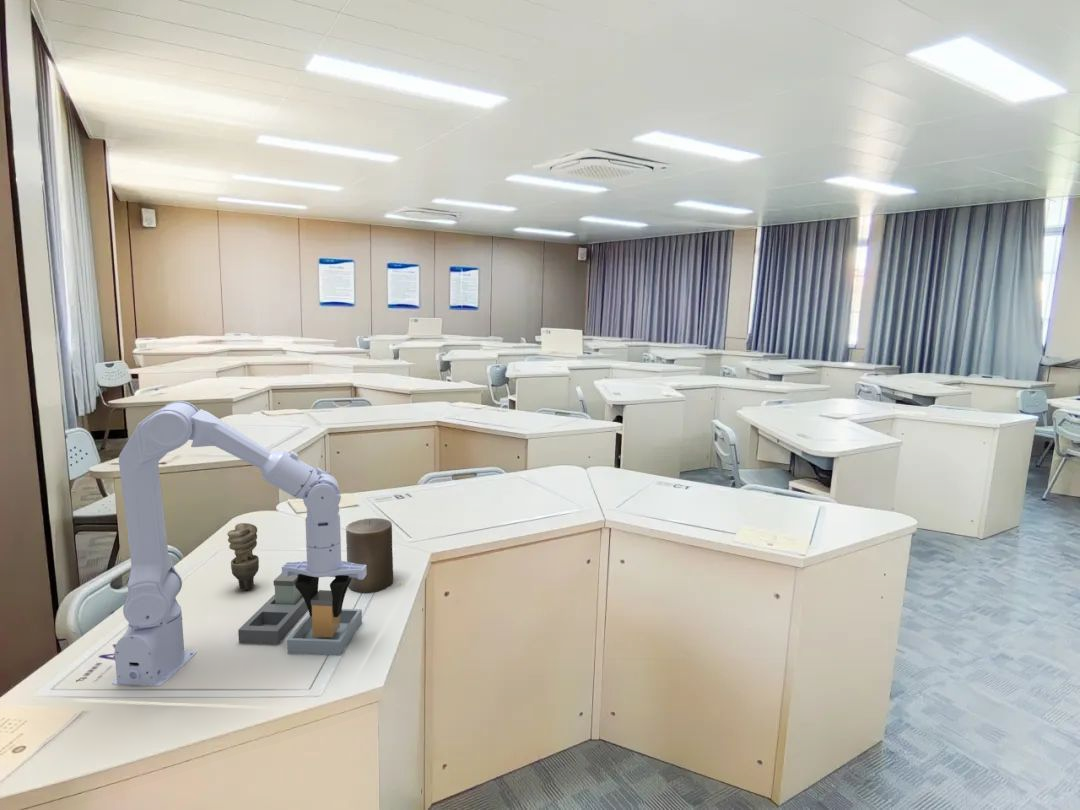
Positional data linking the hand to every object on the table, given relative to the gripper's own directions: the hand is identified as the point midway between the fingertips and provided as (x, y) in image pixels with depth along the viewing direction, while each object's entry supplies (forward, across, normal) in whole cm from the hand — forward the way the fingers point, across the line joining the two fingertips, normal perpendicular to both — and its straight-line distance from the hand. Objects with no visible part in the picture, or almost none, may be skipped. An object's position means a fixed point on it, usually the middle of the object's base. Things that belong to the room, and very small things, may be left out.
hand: (325, 614), depth 105 cm
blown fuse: (+3, 0, 0) cm, 4 cm away
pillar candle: (+5, -1, -22) cm, 23 cm away
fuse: (+4, +11, -9) cm, 15 cm away
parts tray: (+5, 0, 0) cm, 5 cm away
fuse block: (+5, +11, -5) cm, 13 cm away
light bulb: (+5, +24, -17) cm, 30 cm away
